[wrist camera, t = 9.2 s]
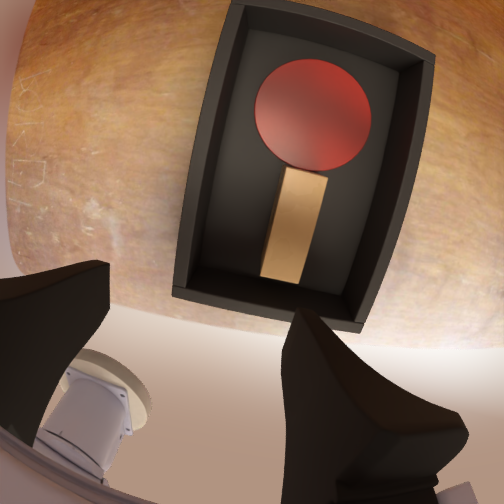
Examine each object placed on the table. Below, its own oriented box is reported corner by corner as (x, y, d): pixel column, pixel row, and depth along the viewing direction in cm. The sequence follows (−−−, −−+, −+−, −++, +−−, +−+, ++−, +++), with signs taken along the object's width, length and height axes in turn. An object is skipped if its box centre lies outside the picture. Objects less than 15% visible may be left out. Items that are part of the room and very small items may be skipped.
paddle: (327, 270, 19) (338, 292, 16) (224, 248, 19) (216, 266, 16) (375, 82, 15) (395, 70, 12) (267, 51, 14) (268, 31, 11)
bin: (345, 303, 20) (360, 334, 16) (187, 270, 20) (170, 297, 16) (407, 68, 14) (436, 54, 11) (240, 20, 14) (233, -8, 10)
